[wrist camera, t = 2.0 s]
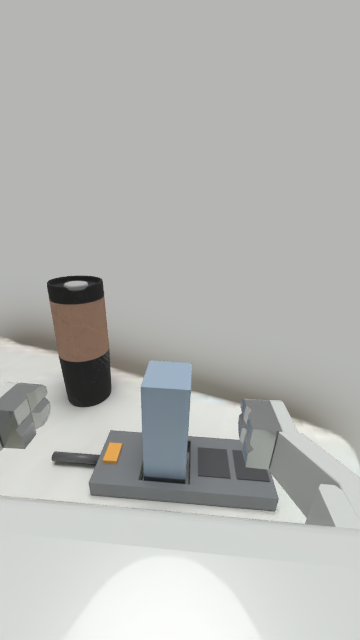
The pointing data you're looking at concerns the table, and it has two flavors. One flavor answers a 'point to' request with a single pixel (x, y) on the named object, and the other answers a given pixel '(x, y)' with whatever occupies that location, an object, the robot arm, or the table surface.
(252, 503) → the power strip
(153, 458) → the blue rectangular block
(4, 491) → the table surface
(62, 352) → the travel mug
